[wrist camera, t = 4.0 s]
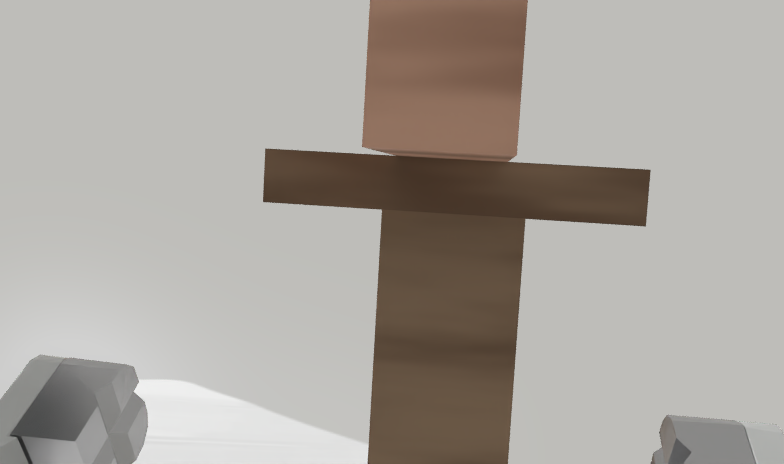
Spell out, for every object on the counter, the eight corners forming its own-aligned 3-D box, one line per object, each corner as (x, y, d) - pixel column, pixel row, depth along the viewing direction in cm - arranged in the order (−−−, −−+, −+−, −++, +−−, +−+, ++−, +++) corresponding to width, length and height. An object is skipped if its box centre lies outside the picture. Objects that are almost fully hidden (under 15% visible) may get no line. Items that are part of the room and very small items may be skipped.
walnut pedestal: (315, 602, 44) (337, 158, 42) (557, 633, 42) (593, 172, 40) (236, 797, 30) (265, 148, 28) (592, 854, 28) (650, 169, 26)
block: (422, 162, 38) (427, 83, 38) (500, 166, 38) (506, 86, 38) (362, 147, 20) (370, -10, 19) (516, 155, 19) (527, -5, 19)
